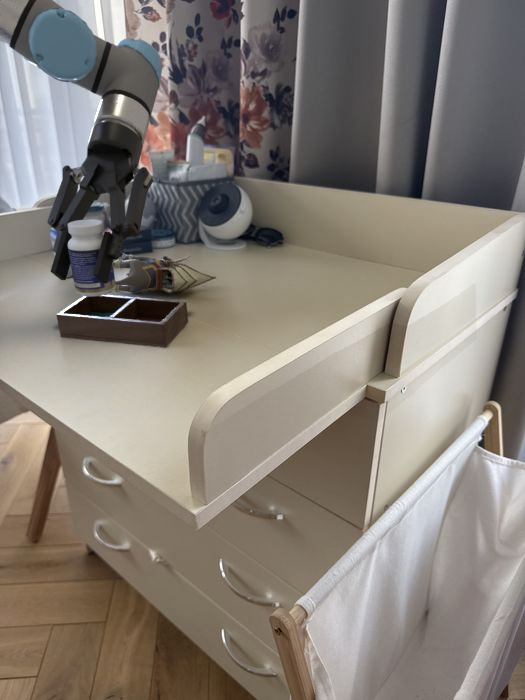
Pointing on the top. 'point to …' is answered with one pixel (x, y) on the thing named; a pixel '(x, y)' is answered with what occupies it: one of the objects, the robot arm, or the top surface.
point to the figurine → (157, 274)
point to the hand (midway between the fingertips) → (79, 277)
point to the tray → (124, 319)
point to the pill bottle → (87, 257)
